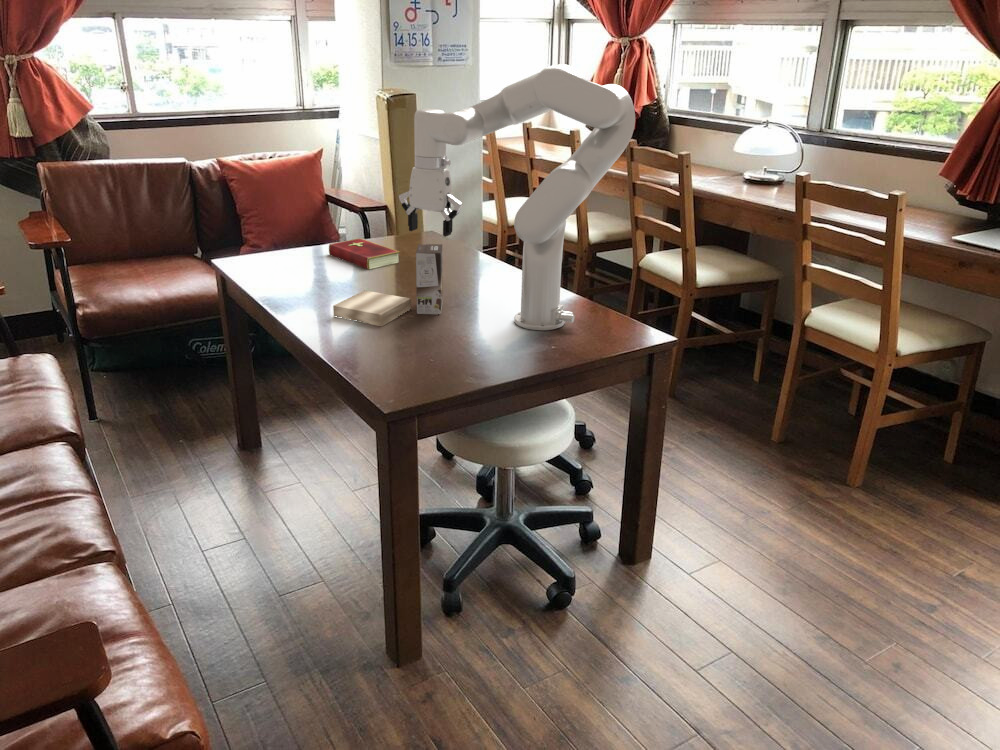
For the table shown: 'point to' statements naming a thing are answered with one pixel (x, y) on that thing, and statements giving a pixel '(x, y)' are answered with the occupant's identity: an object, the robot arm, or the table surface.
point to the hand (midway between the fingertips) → (430, 232)
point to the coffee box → (429, 279)
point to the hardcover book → (364, 253)
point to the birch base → (372, 307)
